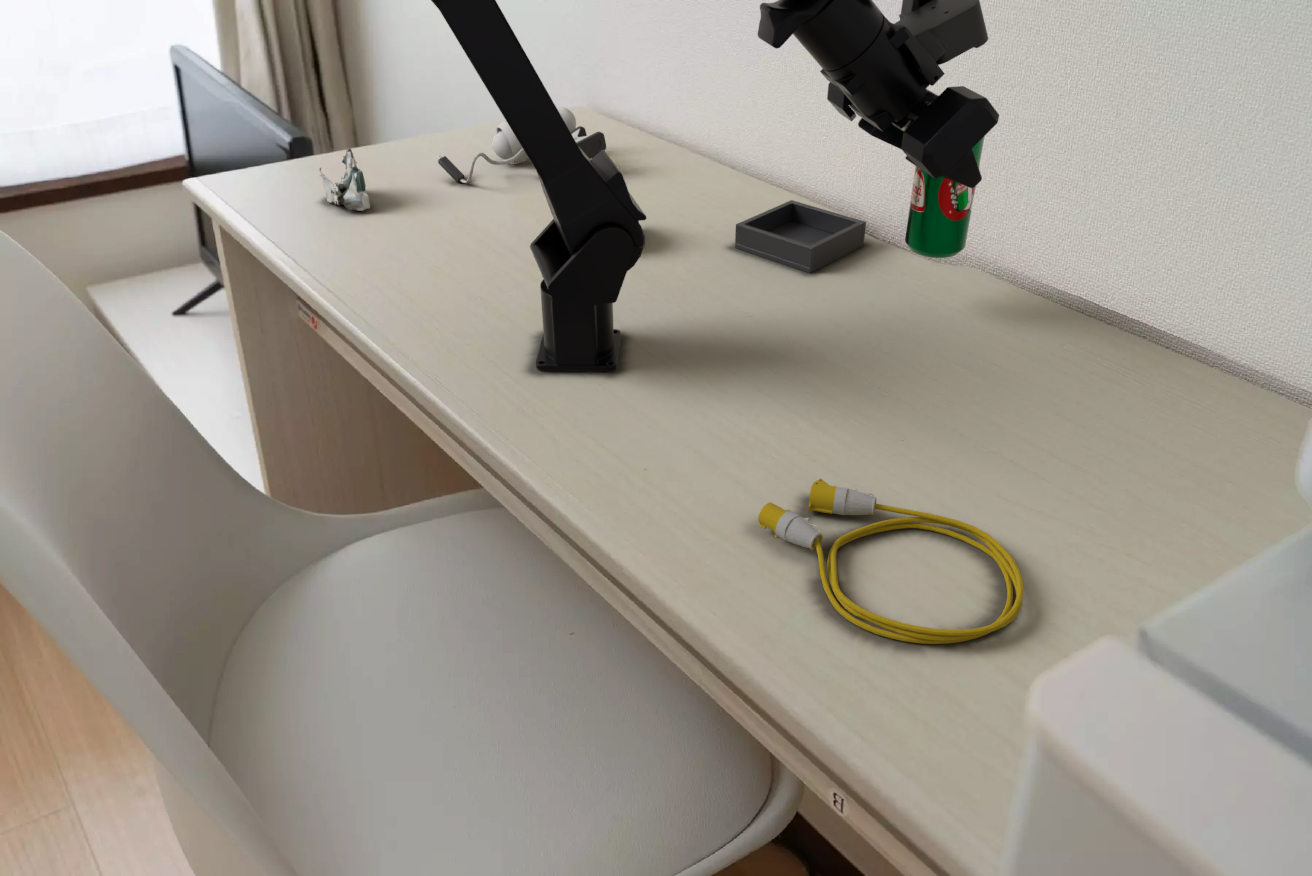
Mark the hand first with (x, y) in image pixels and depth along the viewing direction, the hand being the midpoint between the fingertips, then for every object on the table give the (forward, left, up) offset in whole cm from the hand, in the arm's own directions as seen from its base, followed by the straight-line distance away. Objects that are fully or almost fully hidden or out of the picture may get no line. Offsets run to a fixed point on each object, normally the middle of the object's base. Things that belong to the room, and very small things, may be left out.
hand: (960, 173), depth 88 cm
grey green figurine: (+25, +60, -12) cm, 66 cm away
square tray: (+14, +11, -12) cm, 22 cm away
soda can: (0, +1, -7) cm, 7 cm away
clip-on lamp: (+36, +42, -12) cm, 57 cm away
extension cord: (-36, +10, -12) cm, 39 cm away
